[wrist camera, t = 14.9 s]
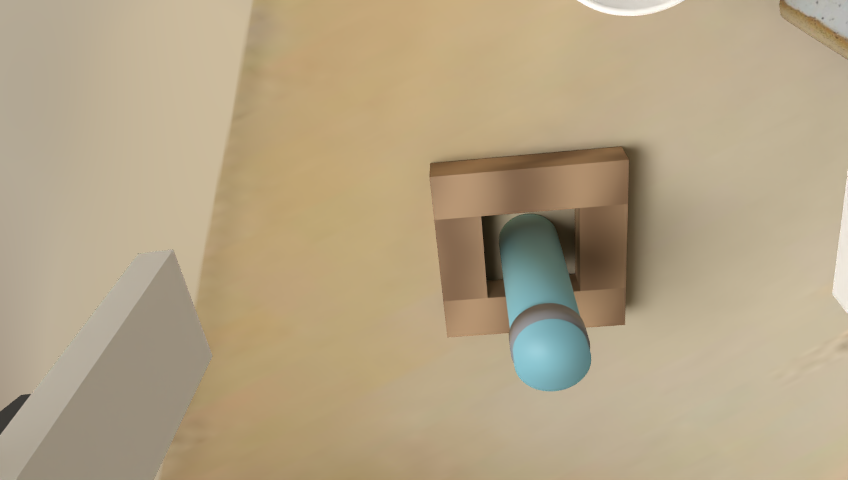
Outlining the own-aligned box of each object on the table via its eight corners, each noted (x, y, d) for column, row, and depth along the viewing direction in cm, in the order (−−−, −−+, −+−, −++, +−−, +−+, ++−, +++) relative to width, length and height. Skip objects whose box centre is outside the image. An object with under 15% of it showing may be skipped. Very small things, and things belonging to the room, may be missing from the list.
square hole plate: (621, 146, 43) (628, 159, 41) (618, 306, 48) (624, 324, 46) (430, 163, 43) (429, 177, 42) (447, 319, 49) (447, 337, 47)
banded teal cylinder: (558, 209, 45) (593, 325, 34) (560, 264, 46) (593, 390, 36) (495, 215, 45) (510, 331, 34) (499, 269, 47) (514, 395, 36)
